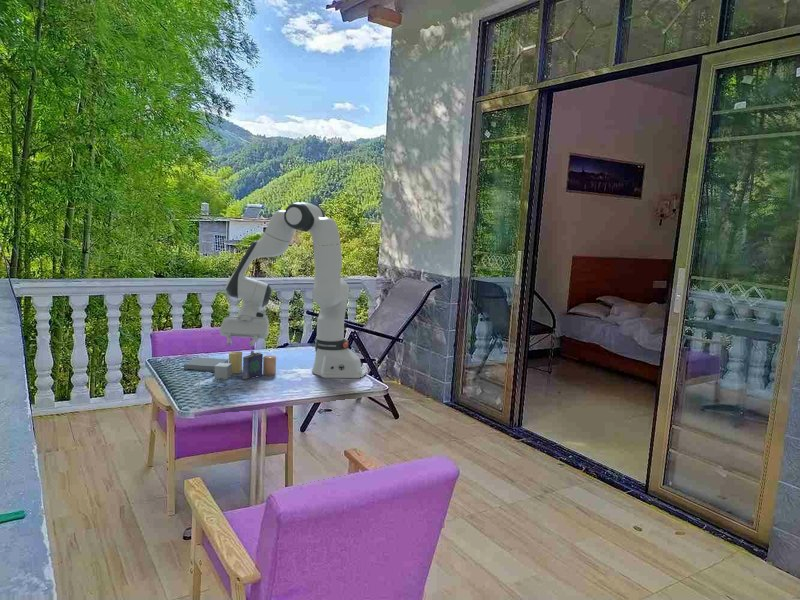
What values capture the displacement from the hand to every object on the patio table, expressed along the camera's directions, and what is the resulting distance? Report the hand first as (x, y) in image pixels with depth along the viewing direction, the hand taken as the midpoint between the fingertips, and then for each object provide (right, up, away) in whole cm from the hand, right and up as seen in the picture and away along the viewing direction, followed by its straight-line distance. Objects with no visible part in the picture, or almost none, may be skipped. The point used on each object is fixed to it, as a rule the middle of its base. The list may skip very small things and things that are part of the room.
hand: (240, 344), depth 229 cm
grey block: (-3, -12, -12) cm, 17 cm away
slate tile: (-14, -9, +1) cm, 17 cm away
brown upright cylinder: (+13, -11, -5) cm, 18 cm away
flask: (+8, -12, -11) cm, 18 cm away
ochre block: (-1, -11, -4) cm, 12 cm away
